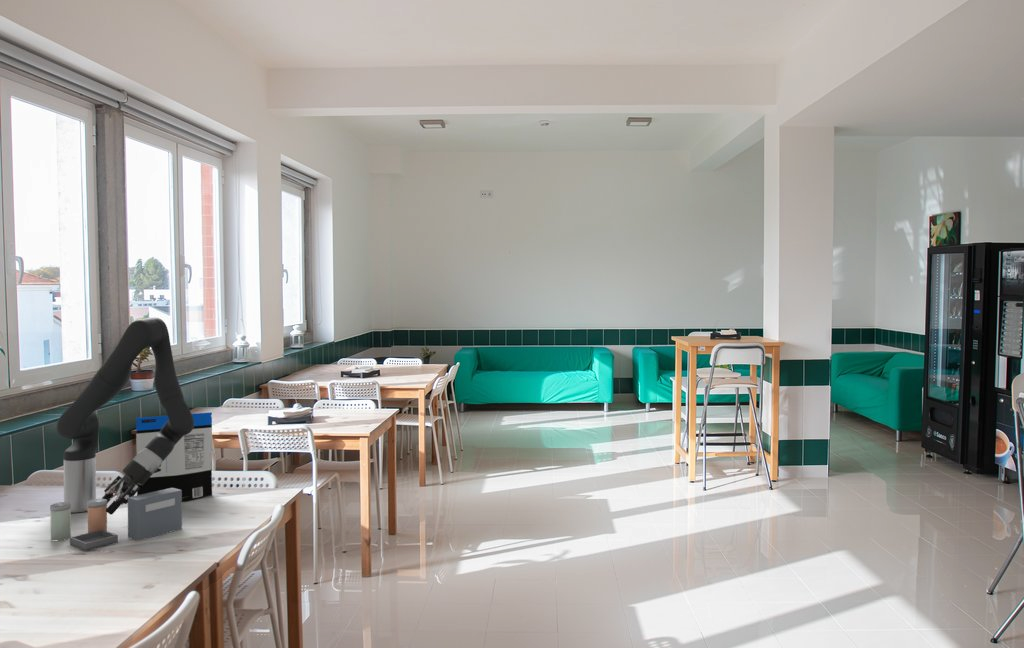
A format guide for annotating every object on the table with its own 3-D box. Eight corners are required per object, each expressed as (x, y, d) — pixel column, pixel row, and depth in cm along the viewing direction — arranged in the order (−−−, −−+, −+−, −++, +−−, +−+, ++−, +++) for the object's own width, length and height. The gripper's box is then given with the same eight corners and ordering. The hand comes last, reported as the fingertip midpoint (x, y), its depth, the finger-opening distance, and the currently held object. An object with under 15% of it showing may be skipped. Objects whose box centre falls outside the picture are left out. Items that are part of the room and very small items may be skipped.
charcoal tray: (69, 545, 210) (69, 537, 210) (101, 536, 217) (101, 529, 217) (85, 551, 205) (85, 543, 205) (118, 542, 212) (118, 535, 212)
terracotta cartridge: (84, 534, 219) (83, 501, 218) (101, 530, 223) (101, 497, 223) (93, 538, 216) (92, 504, 216) (110, 533, 220) (110, 500, 220)
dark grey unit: (127, 537, 217) (127, 497, 216) (171, 525, 228) (171, 487, 228) (138, 541, 214) (137, 500, 213) (182, 528, 225) (182, 490, 225)
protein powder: (214, 498, 260) (214, 414, 259) (138, 508, 247) (137, 419, 246) (209, 492, 268) (209, 410, 267) (135, 501, 255) (134, 415, 254)
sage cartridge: (47, 538, 215) (46, 505, 215) (65, 534, 219) (65, 501, 219) (55, 542, 212) (55, 508, 212) (74, 537, 216) (74, 504, 216)
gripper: (125, 455, 231) (85, 498, 223) (142, 462, 221) (101, 507, 214) (143, 469, 235) (104, 512, 227) (161, 477, 225) (121, 522, 218)
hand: (103, 510), depth 220 cm, fingers open, 8 cm apart
